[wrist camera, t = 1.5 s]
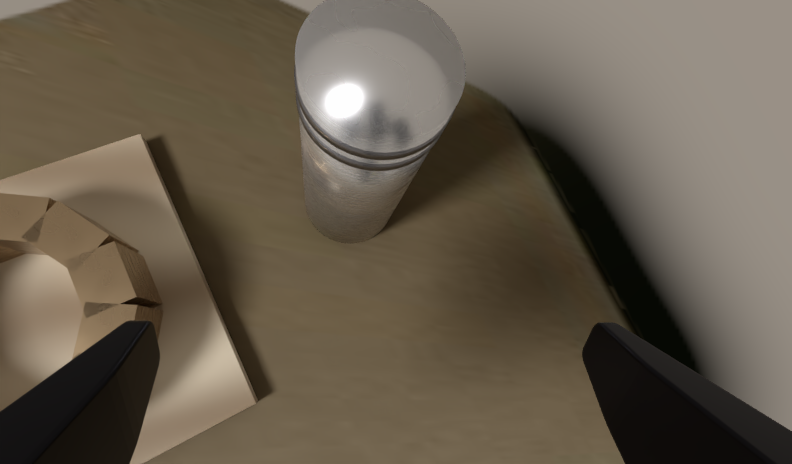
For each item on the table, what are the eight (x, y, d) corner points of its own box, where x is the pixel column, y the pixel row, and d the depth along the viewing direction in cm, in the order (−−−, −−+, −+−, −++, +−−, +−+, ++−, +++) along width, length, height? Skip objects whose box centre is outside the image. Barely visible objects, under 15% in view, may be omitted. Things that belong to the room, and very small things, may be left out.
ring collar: (196, 384, 19) (175, 392, 16) (-79, 521, 16) (-164, 559, 13) (112, 182, 20) (79, 155, 17) (-152, 275, 17) (-243, 262, 15)
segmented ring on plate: (258, 400, 20) (255, 403, 19) (-105, 592, 16) (-126, 605, 15) (146, 141, 22) (140, 134, 21) (-200, 257, 18) (-223, 253, 17)
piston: (407, 222, 23) (497, 105, 12) (327, 259, 22) (341, 167, 11) (369, 148, 24) (418, -31, 12) (289, 179, 23) (263, 12, 11)
